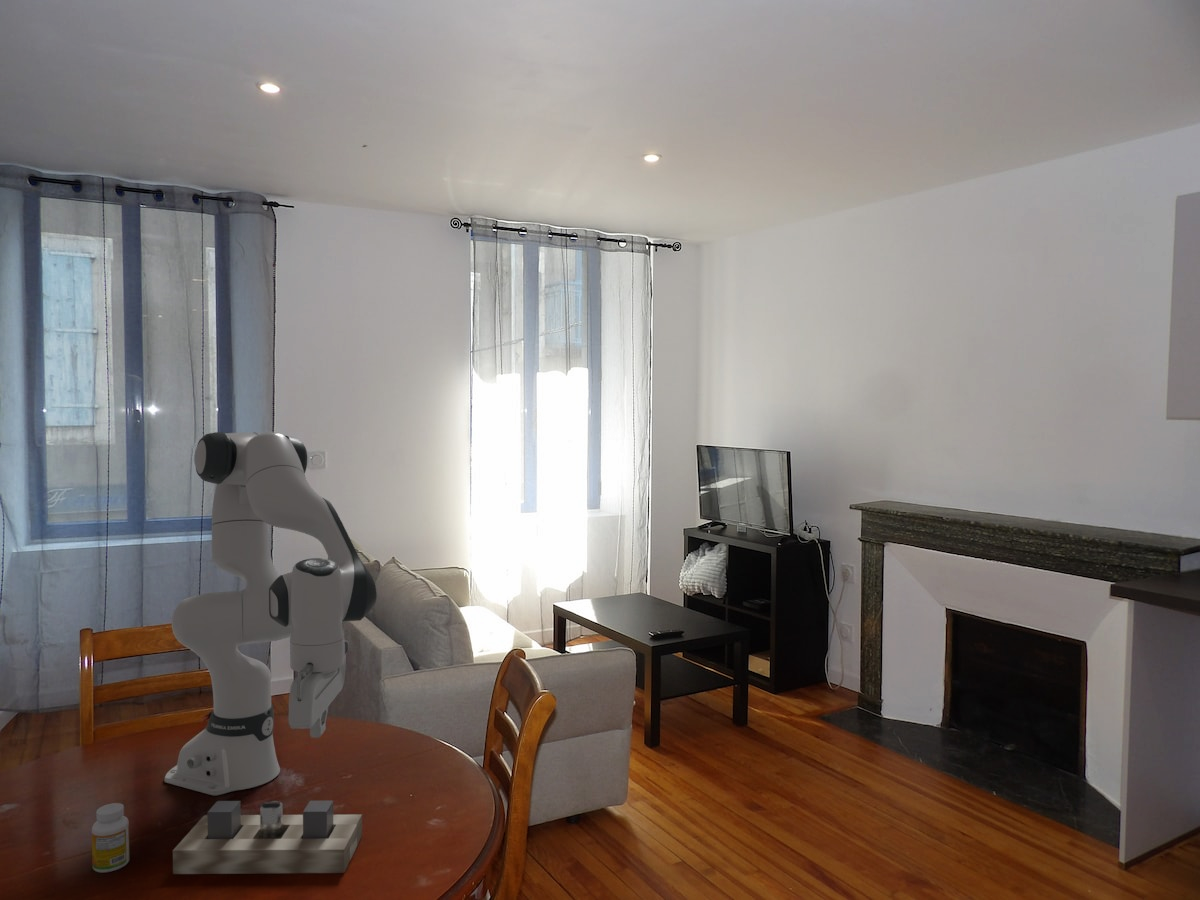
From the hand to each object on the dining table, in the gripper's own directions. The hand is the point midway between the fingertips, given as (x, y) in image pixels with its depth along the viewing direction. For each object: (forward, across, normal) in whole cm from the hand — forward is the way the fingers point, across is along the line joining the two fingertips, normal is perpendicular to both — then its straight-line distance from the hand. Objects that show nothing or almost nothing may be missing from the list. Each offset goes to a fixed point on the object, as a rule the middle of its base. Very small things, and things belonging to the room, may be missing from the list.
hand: (317, 734), depth 145 cm
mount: (+21, 0, +8) cm, 23 cm away
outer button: (+18, 0, 0) cm, 18 cm away
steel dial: (+18, 0, +8) cm, 19 cm away
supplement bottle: (+21, -3, +34) cm, 40 cm away
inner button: (+18, 0, +16) cm, 24 cm away
